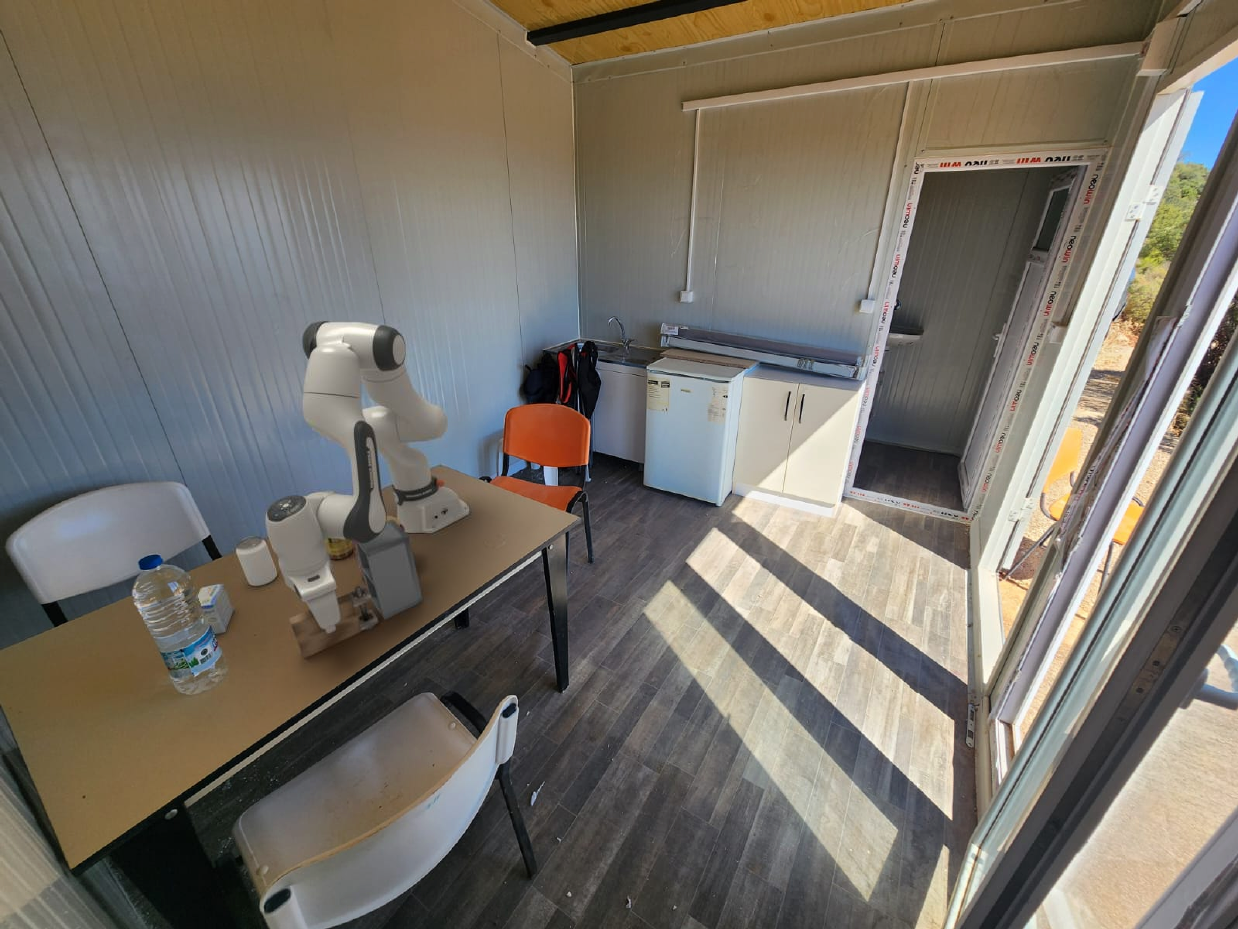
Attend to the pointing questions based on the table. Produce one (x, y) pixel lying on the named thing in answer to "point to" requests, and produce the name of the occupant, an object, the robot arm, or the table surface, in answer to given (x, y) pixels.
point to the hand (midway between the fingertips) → (324, 618)
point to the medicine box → (216, 606)
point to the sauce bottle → (338, 545)
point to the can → (256, 561)
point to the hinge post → (363, 607)
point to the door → (350, 624)
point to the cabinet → (390, 571)
